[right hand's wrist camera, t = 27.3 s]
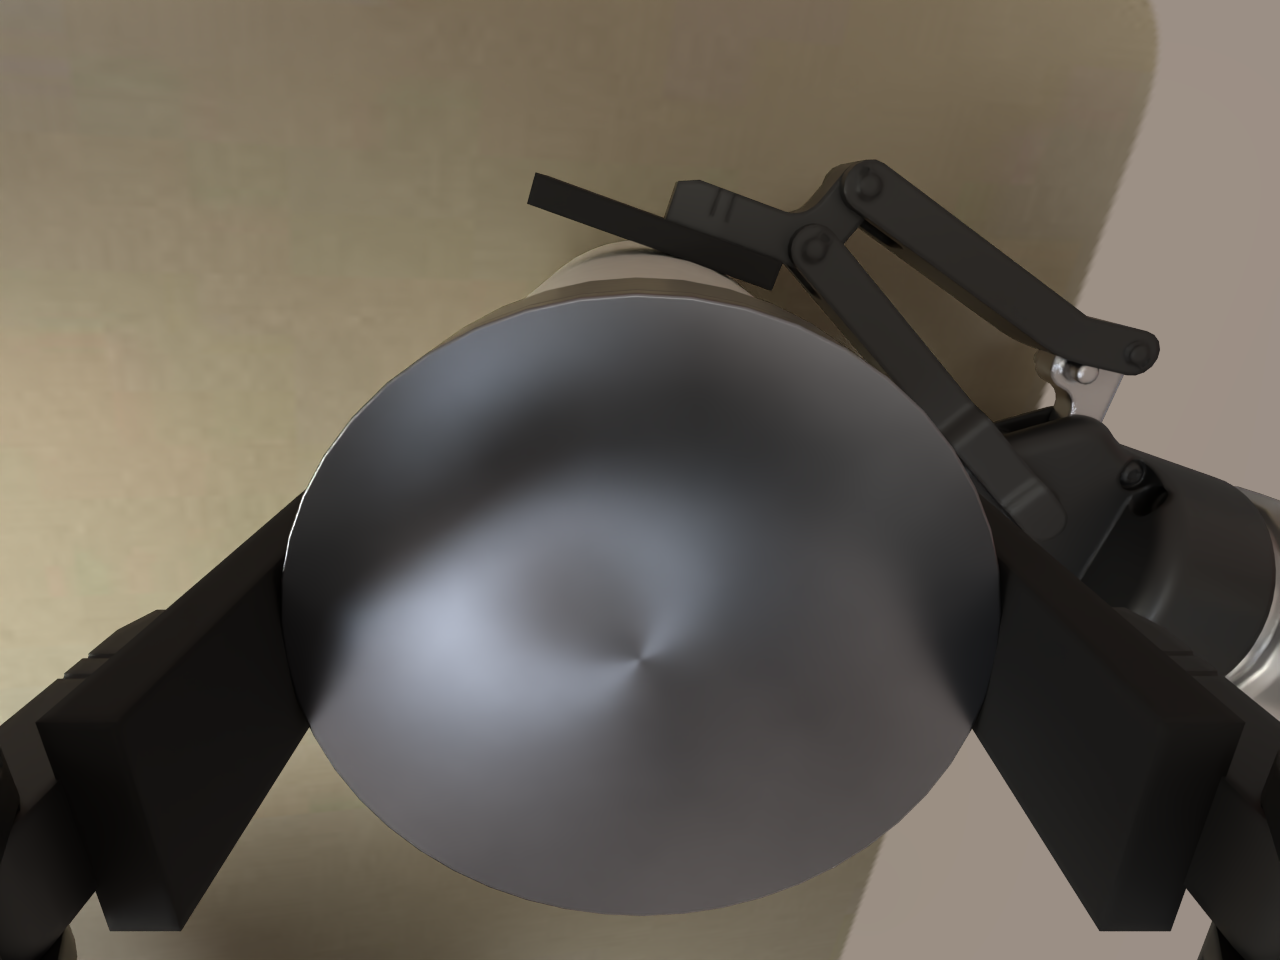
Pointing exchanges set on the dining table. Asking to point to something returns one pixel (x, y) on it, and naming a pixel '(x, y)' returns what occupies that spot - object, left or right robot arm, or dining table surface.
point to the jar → (632, 268)
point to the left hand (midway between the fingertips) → (490, 367)
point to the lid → (640, 600)
